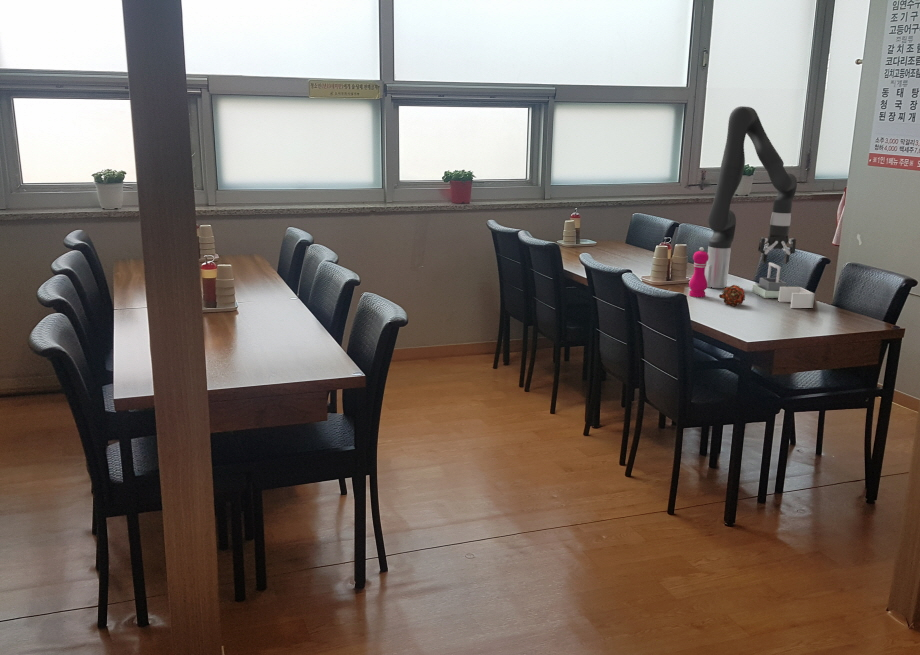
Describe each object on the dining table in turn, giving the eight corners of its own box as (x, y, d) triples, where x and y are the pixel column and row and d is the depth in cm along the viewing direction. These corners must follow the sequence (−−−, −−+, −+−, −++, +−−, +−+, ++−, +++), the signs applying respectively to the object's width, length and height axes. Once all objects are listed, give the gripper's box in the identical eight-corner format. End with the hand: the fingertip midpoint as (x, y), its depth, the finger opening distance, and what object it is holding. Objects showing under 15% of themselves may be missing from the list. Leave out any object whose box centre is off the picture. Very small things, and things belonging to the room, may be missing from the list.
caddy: (767, 295, 325) (770, 266, 322) (758, 290, 335) (761, 262, 332) (784, 296, 326) (788, 266, 322) (775, 290, 335) (778, 262, 332)
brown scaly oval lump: (736, 312, 305) (724, 309, 317) (754, 299, 305) (742, 297, 317) (723, 294, 304) (712, 292, 316) (742, 281, 304) (730, 280, 316)
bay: (791, 308, 307) (793, 293, 305) (778, 301, 319) (779, 286, 318) (812, 309, 307) (814, 293, 306) (798, 301, 319) (800, 287, 318)
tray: (764, 298, 324) (765, 291, 323) (752, 291, 337) (752, 284, 336) (790, 299, 324) (791, 291, 323) (777, 291, 337) (778, 284, 336)
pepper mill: (704, 294, 329) (709, 246, 324) (707, 298, 322) (712, 248, 317) (686, 293, 330) (691, 245, 325) (689, 297, 323) (694, 248, 318)
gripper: (793, 223, 327) (788, 262, 331) (759, 222, 326) (754, 261, 331) (801, 225, 319) (795, 265, 324) (766, 224, 319) (761, 264, 323)
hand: (774, 263), depth 327 cm, fingers open, 8 cm apart
